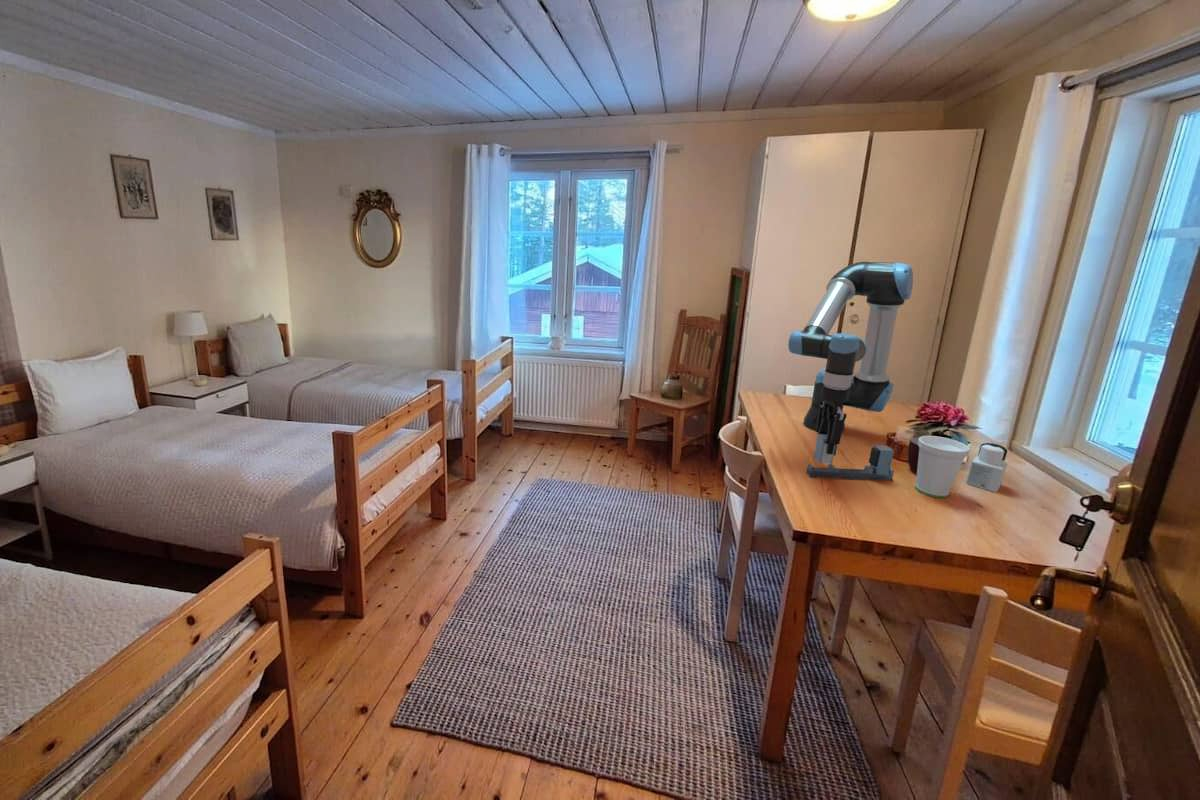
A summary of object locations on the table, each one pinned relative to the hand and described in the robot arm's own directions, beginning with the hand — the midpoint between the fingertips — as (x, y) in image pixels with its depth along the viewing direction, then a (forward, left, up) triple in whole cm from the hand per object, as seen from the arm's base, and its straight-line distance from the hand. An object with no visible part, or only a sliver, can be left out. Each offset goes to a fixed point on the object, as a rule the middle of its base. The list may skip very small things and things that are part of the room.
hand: (822, 459), depth 155 cm
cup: (+8, +30, -6) cm, 32 cm away
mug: (-5, +34, -6) cm, 35 cm away
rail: (0, +9, -5) cm, 11 cm away
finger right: (0, 0, 0) cm, 0 cm away
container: (+2, +50, -6) cm, 50 cm away
